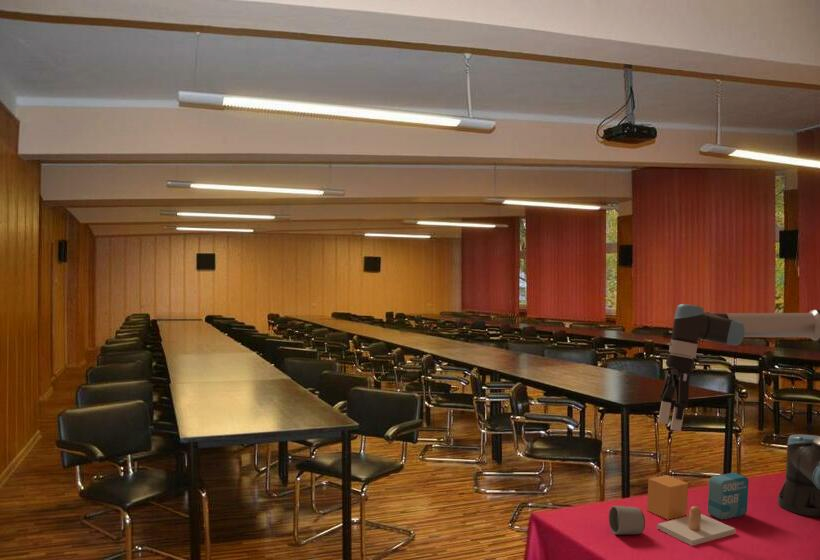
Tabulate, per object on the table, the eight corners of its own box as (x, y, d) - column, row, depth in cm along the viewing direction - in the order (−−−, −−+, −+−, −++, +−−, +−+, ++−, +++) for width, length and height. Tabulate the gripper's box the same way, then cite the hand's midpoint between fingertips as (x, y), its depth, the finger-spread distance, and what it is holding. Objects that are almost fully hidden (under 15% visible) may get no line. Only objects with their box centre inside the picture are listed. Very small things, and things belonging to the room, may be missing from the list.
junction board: (699, 518, 205) (700, 492, 205) (735, 533, 195) (736, 506, 194) (657, 528, 196) (658, 501, 196) (692, 545, 186) (693, 517, 185)
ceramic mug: (646, 538, 190) (647, 511, 190) (618, 539, 189) (619, 511, 189) (629, 523, 201) (630, 497, 200) (603, 523, 200) (604, 498, 199)
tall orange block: (665, 506, 214) (666, 474, 213) (686, 515, 207) (688, 483, 206) (647, 510, 210) (648, 478, 209) (668, 520, 203) (669, 487, 202)
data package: (719, 521, 204) (721, 481, 203) (706, 515, 208) (709, 476, 207) (747, 514, 209) (749, 476, 208) (734, 509, 213) (736, 471, 212)
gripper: (657, 351, 216) (645, 417, 215) (681, 356, 191) (667, 431, 191) (681, 356, 215) (670, 422, 215) (708, 361, 190) (695, 436, 190)
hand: (668, 426), depth 203 cm, fingers open, 13 cm apart
